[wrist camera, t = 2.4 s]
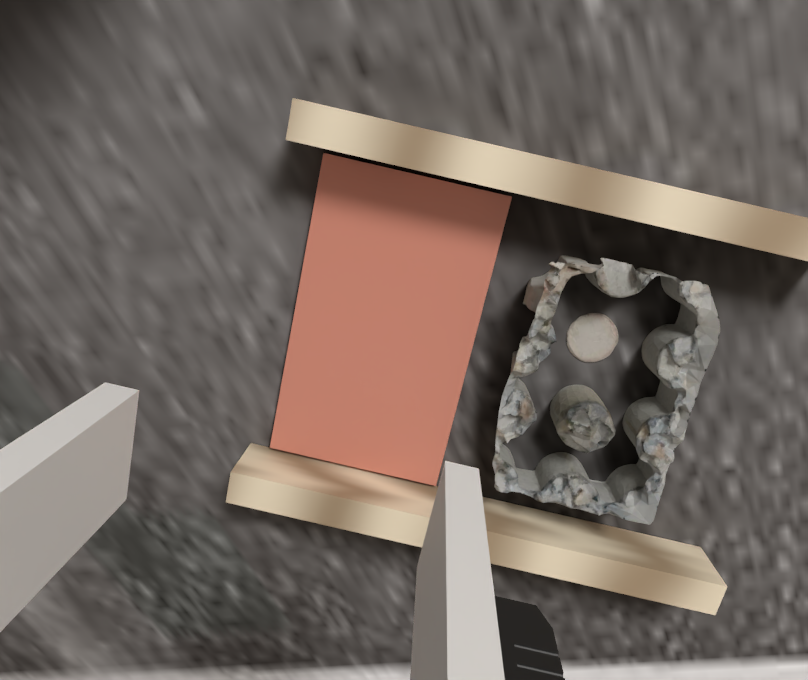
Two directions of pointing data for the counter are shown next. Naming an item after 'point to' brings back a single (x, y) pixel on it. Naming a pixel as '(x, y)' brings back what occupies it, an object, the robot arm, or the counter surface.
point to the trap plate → (385, 317)
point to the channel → (505, 522)
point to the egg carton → (585, 412)
